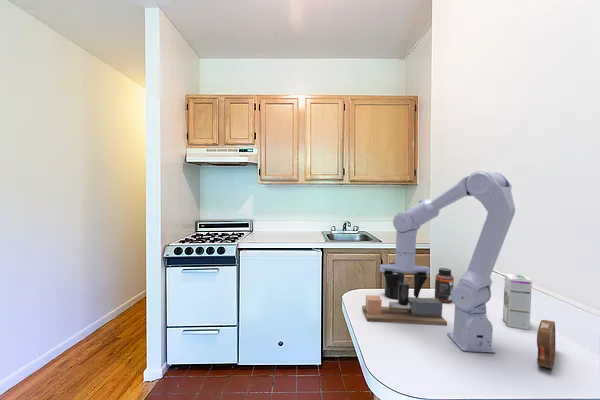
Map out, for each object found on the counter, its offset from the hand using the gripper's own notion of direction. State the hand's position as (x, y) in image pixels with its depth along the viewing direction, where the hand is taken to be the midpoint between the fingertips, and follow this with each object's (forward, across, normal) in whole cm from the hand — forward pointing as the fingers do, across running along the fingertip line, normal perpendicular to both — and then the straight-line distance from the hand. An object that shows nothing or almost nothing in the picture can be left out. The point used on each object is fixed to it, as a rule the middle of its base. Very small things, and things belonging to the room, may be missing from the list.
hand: (403, 295), depth 100 cm
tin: (+7, -28, +22) cm, 36 cm away
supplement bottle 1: (+7, -2, -19) cm, 20 cm away
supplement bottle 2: (+7, -19, -17) cm, 26 cm away
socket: (+6, +9, 0) cm, 11 cm away
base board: (+6, 0, 0) cm, 6 cm away
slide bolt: (+4, -2, 0) cm, 5 cm away
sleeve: (+6, -6, 0) cm, 9 cm away
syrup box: (+7, -33, +2) cm, 34 cm away
